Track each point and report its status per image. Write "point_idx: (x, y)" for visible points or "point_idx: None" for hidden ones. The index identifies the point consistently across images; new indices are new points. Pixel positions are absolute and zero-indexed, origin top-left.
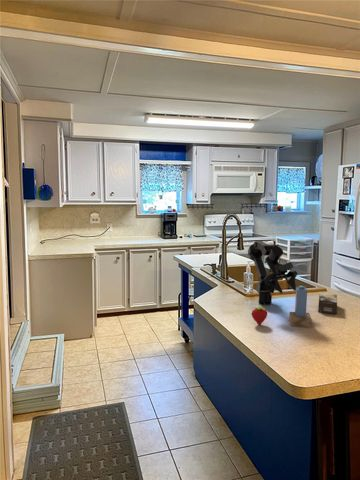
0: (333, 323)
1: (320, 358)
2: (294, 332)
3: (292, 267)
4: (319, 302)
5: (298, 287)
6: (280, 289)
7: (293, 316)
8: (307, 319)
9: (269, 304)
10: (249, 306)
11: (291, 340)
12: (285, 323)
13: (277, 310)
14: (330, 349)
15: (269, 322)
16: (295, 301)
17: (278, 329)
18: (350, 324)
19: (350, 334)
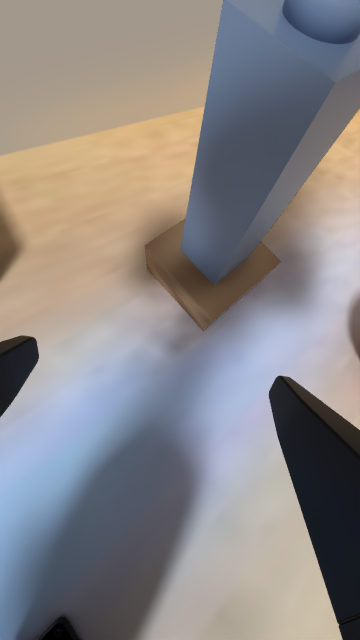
0: (94, 196)
1: (357, 128)
2: (296, 239)
3: None
4: None
5: (321, 55)
6: (326, 405)
7: (259, 264)
8: None
9: (68, 622)
10: None
11: (351, 213)
12: (258, 311)
13: (133, 472)
14: None
15: (310, 362)
16: (240, 242)
17: (328, 289)
18: (54, 156)
19: (153, 130)
